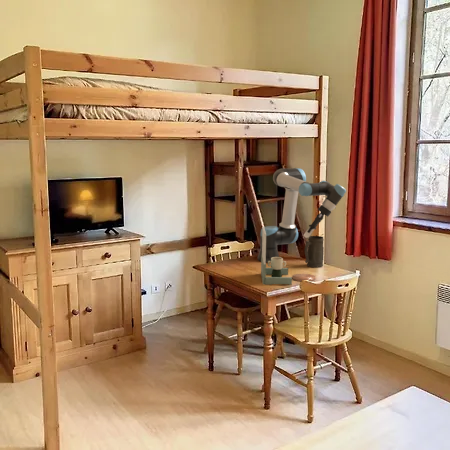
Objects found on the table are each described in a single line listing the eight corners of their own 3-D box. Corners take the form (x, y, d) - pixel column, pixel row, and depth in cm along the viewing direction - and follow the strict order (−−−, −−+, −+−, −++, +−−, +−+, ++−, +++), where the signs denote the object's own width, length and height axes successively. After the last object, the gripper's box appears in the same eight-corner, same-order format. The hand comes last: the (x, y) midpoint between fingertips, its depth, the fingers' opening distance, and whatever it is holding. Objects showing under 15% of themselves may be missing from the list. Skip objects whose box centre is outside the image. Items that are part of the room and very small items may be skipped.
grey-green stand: (287, 274, 330) (289, 227, 325) (291, 284, 307) (293, 234, 302) (261, 273, 331) (262, 226, 326) (262, 284, 307) (263, 233, 302)
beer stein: (313, 262, 361) (313, 234, 356) (327, 265, 353) (327, 236, 349) (300, 268, 350) (300, 238, 346) (313, 271, 342) (313, 241, 338)
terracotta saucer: (287, 277, 322) (287, 275, 322) (304, 274, 330) (304, 272, 330) (303, 282, 311) (303, 280, 310) (320, 279, 318) (320, 277, 318)
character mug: (285, 277, 322) (285, 257, 320) (285, 280, 315) (286, 259, 312) (267, 277, 322) (267, 256, 320) (267, 280, 315) (267, 259, 313)
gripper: (331, 211, 302) (309, 240, 305) (332, 212, 327) (312, 239, 329) (320, 203, 304) (298, 233, 306) (322, 205, 328) (302, 232, 331)
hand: (305, 236), depth 318 cm, fingers open, 13 cm apart
